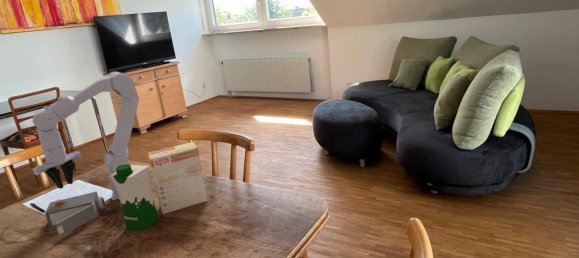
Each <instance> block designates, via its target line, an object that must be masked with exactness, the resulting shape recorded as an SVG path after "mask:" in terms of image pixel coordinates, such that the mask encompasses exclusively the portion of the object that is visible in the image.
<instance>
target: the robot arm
mask: <svg viewBox="0 0 579 258" xmlns="http://www.w3.org/2000/svg"><path fill="white" fill-rule="evenodd" d="M102 92H103V93H106V92H110V93H111V92H112V93H113V92H115V93H116V95H118V97H119V98H120V100H121V101H122V102H121V106H120V110H119V114H118V119H117V122H116V125H115V131H114V135H113V139H112V143H111V144H110V146H109V148H108V150H107V152H106V154H105V155H104V156H103V164H104V165H105V166H106V167H108V170H107V176H108V179H109V184H110V187H111V192H112V193H111V194H112V195H111V200H112V201H116V200H120V199H119V196H118V192H117V188H116V186H115V184H114V183H113V181H112V179H111V177H110V175H112V174H114V173H115V172H116V168H117V167H118V166H121V165H125V164H129V165H130V161H129V155H130V154H129V148H128V146H129V143H130V139H131V135H132V132H133V131H132V130H133V127H134V123H135V118H136V114H137V110H138V107H139V103H140V97H139V94H138V91H137V87H136V82H135V80H134V79H132V77H130V75H129V74H127V73H122V72H119V71H111V72H109V73H108V74H107V75H106V74H105V75H103V76H102V77H100V78H98V79H96V80H95V81H94V82H92V83H91V84H89V85H87V86H86V87H85V88H83V89H82V90H80V91H79V92H77V93H76V94H74V95H73V96H70V95H65V96H64V97H63V96H61V95H60V96H59V97H58V98H57V101H55V102H53V103H52V104H50V105H48V106H47V105H46V106H44V107H43V110H42V109H41V110H38V111H36V112H35V113H34V115H33V116H32V121H31V122H32V123H33V125H34V126H35V127H36V130H37V131H36V132H37V134H38V139H39V142H40V145H41V149H42V151H43V154H44V158H45V160H46V161H45V162H44V163H41V164H39V165H38V166H35V167H34V168H32V172H33V174H34V175H35V176H40V175H41V174H42V173H44V174H46V176H48V177H49V178H50V179H51V180H52V181H53V183H54V184H55V186H56V187H57V189H63V188H64V183H63V181H62V178H61V171H62V173H63V175H64V178H65V181H66V184H69V185H72V184H73V183H74V181H73V180H74V179H73V178H74V177H73V176H74V170H75V167H76V163H75V160H77V159H80V158H82V154H81V152H80V151H74V152H71V153H68V154H67V153H66V149H65V146H64V143H63V142H64V141H63V139H62V136H61V134H60V133H61V131H59V130H58V129H59V128H58V127H57V126H58V123H60V122H62V121H64V120H65V119H68V118H69V117H70V116H71V115H73V114H75V113H76V112H78V111H79V108H80V105H82V104H83V103H86V102H87V101H89V100H90V99H92V98H94V97H95V96H97V95H99V94H102ZM73 160H74V161H73ZM57 167H60V168H61V170H60V169H57Z"/></svg>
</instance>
